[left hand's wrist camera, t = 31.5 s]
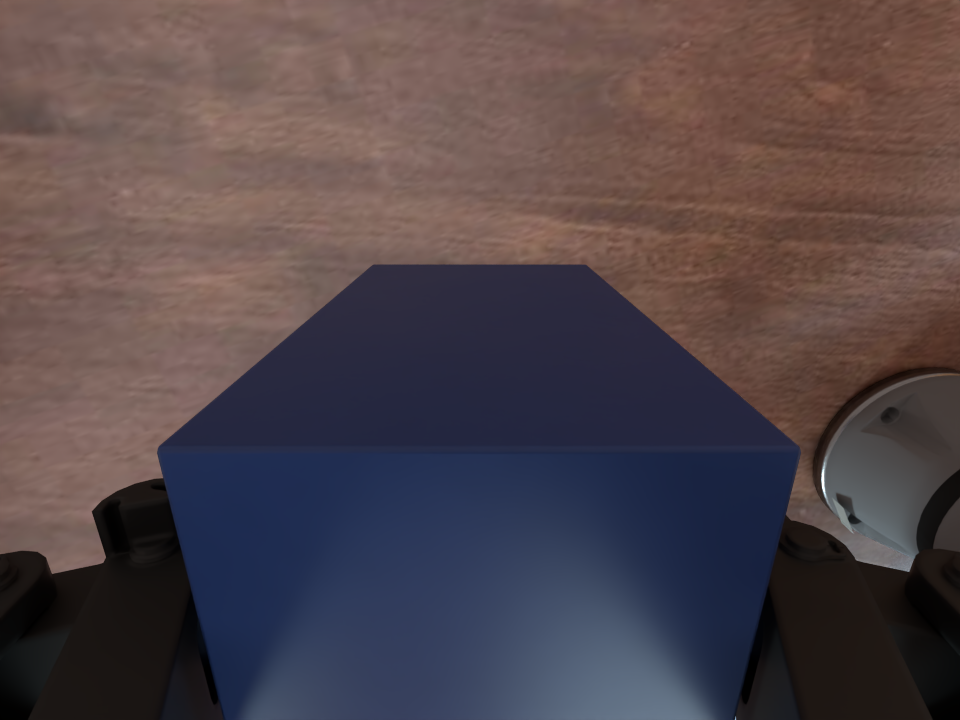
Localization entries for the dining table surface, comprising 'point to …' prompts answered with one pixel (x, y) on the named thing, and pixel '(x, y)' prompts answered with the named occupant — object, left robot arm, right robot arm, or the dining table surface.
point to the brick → (479, 509)
